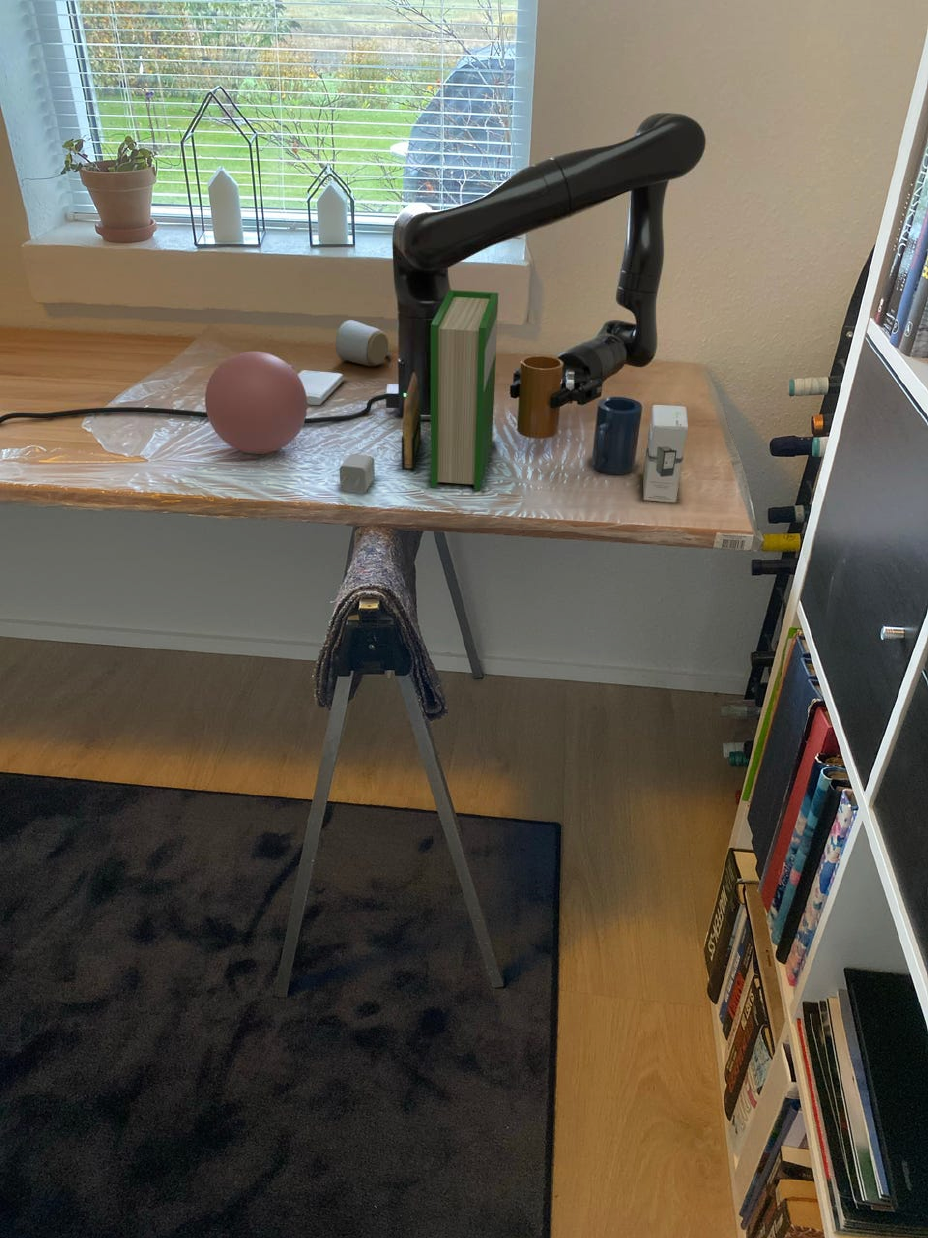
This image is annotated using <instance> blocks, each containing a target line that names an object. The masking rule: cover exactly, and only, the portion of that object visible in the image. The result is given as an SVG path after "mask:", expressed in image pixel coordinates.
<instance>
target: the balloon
mask: <svg viewBox="0 0 928 1238" xmlns="http://www.w3.org/2000/svg"><path fill="white" fill-rule="evenodd" d="M204 407H205V412H207V416H208V422H209V423H210V425H211V427H212V429H213V431H214V432H215V433H216V434H217V436H218V437H219V438H220V439H221V440H222V441H223V442H225V443H226V444H227V445H229V446H230V447H232V448H234V449H236V450H238V451H240V452H243V453H247V454H254V455H263V454H264V455H265V454H269V453H270V454H271V453H274V452H277V451H279V450H282V449H283V448H285V447H286V446H288V445H289V444H290V443H291V442H293V440H294V439H296V437H297V436H298V435H299V433H300V432H301V431H302V428H303V427H304V425H305V424H304V421H305V418H307V413H308V404H307V397H306V392H305V389H304V386H303V383H302V381H301V380H300V378H299V376H298V373H297V371H295V368H294V366H293V365H292V364H288V362H286V361H285V360H283V359H282V358H280V357H278V356H276V355H273V354H271V353H268V352H263V351H244V352H239V353H237V354H234V355H232V356H230V357H228V358H226V359H225V360H223V362H221V363H220V364H219V365H218V366H217V367H216V369H215V370H214V371H213V373H212V374H211V375H210V378H209V380H208V382H207V384H206V389H205V396H204Z"/></svg>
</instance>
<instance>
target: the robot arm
mask: <svg viewBox="0 0 928 1238" xmlns="http://www.w3.org/2000/svg"><path fill="white" fill-rule="evenodd" d="M706 143H707V139H706V134H705V131H704V129H703V127H702V126H701V124H700V123H699V122H698V121H697V120H695V119H694V118H692V117H690V116H688V115H686V114H682V113H669V112H659V113H654V114H651V115H649V116H647V117H646V118H645V119H643V120H642V121H641V123H640V124H639V126H638V127H637V128H636V131H635V132H634V136H633V137H631V138H627V139H625V140H623V141H620V142H616V143H614V144H610V145H604V146H599V147H592V148H586V149H581V150H576V151H571V152H567V153H563V154H560V155H555V156H553V157H549V158H548V159H545V160H543V161H540V162H537V163H534V164H532V165H529V166H527V167H525V168H523V169H521V170H519V171H517V172H516V173H514V174H513V175H511V176H510V177H508V178H507V179H506V180H504V181H503V182H502V183H500V184H499V185H497V186H496V187H495V188H494V189H492V190H491V191H490V192H488V193H487V194H485V195H483V196H481V197H479V198H477V199H474V200H472V201H469V202H465V203H462V204H459V205H456V206H453V207H448V208H445V209H438V208H437V207H435V206H434V205H431V204H429V203H424V202H417V203H412V204H409V205H408V206H406V207H405V208H403V210H401V211H400V213H399V214H398V215H397V216H396V219H395V221H394V224H393V229H392V235H391V236H392V237H391V238H392V240H391V243H392V244H391V245H392V246H391V247H392V268H393V269H392V270H393V271H392V273H393V286H394V292H395V296H396V305H397V308H396V309H397V339H398V341H397V344H398V345H397V347H398V349H397V351H398V353H397V354H398V359H397V380H398V381H397V383H387V384H386V389H385V393H384V394H380V395H375V396H373V397H371V398H370V399H369V400H368V401H367V403H366V407H365V408H364V409H362V410H360V411H359V412H356V413H352V414H347V415H333V416H324V417H323V416H321V417H306V418H305V421H304V424H303V425H305V424H307V425H308V424H319V423H321V424H322V423H330V422H344V421H348V420H352V419H356V418H360V417H363V416H366V415H367V414H369V412H370V411H371V410H372V406H373V404H374V403H376V402H379V401H383V400H385V408H386V409H398V417H404V402H405V397H406V394H407V390H408V387H409V384H410V381H411V378H412V375H413V373H414V372H415V374H416V377H417V382H418V395H419V403H420V414H421V421H431V323H432V322H433V320H434V318H435V316H436V314H437V312H438V310H439V308H440V306H441V304H442V302H443V301H444V299H445V297H446V295H447V293H448V291H449V290H452V287H451V284H450V283H451V281H450V277H449V276H450V275H449V268H452V267H453V266H455V265H457V264H459V263H461V262H463V261H465V260H466V259H468V258H470V257H472V256H474V255H476V254H478V253H479V252H483V251H484V250H486V249H488V248H490V247H492V246H495V245H497V244H500V243H503V242H507V241H509V240H513V239H516V238H518V237H521V236H524V235H527V234H529V233H532V232H533V231H537V230H540V229H543V228H546V227H549V226H552V225H554V224H557V223H560V222H561V221H565V220H567V219H569V218H572V217H574V216H577V215H578V214H581V213H583V212H586V211H588V210H591V209H593V208H595V207H598V206H601V205H602V204H604V203H606V202H608V201H611V200H613V199H614V198H617V197H619V196H621V195H624V194H626V193H628V192H629V201H628V202H629V203H628V216H627V226H626V233H625V240H624V241H625V242H624V249H623V254H622V259H621V260H622V261H621V265H620V271H619V276H618V280H617V287H616V290H615V291H616V292H615V302H616V304H617V305H618V306H620V307H622V308H623V309H626V310H628V311H629V312H631V314H633V316H634V320H635V323H634V322H628V321H624V320H620V319H611V320H607V321H605V322H604V323H603V324H602V325H601V327H600V329H599V330H598V332H597V333H596V334H595V336H594V337H593V338H591V339H589V340H587V341H584V342H581V343H578V344H576V345H575V346H573V347H570V348H569V349H567V350H564V351H563V352H561V353H560V354H558V355H557V356H556V357H555V358H558V359H560V360H561V361H563V363H564V366H563V378H562V389H560V390H559V391H557V392H555V393H554V394H552V396H551V403H550V408H553V409H556V408H558V407H560V408H561V407H563V406H565V405H566V404H568V405H571V404H573V403H574V402H576V405H578V406H584V405H586V404H588V403H590V402H592V401H594V400H596V399H599V398H601V397H602V393H603V387H604V386H603V385H604V383H605V382H606V381H607V380H608V379H609V378H611V377H612V376H614V375H616V374H617V373H618V372H620V371H621V370H622V369H623V368H624V367H625V365H626V366H630V367H633V368H644V367H646V366H648V365H649V364H650V363H651V362H652V361H653V359H654V357H655V356H656V354H657V349H658V326H657V298H658V294H659V289H660V285H661V279H662V275H663V268H664V262H665V236H664V204H665V199H666V193H667V188H668V186H669V183H670V181H672V180H676V179H680V178H682V177H684V176H686V175H687V174H689V173H690V172H691V171H693V170H694V169H695V168H696V166H697V165H698V164H699V162H700V161H701V160H702V158H703V156H704V154H705V153H704V152H705V150H706ZM520 369H521V367H519V368H517V369H516V370H515V371H513V377H512V378H513V380H512V383H510V385H509V395H510V398H512V399H517V398H518V399H519V386H520ZM106 413H107V414H109V413H110V414H111V413H141V414H142V413H147V414H164V415H165V414H166V415H177V416H187V417H188V416H189V417H199V418H208V416H207V412H206V411H197V410H187V409H186V410H185V409H177V408H175V409H174V408H163V407H140V406H119V407H118V406H114V407H93V408H92V407H91V408H79V409H70V410H69V409H68V410H61V411H53V412H23V411H22V412H10V413H6V414H3V415H0V425H1V424H2V423H4V422H6V421H8V420H12V419H23V418H24V419H52V418H60V417H71V416H79V415H89V414H106Z"/></svg>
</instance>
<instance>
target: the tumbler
mask: <svg viewBox="0 0 928 1238" xmlns="http://www.w3.org/2000/svg"><path fill="white" fill-rule="evenodd" d="M563 366H564V363H563V361H561V360H560V359H558V358H556V357H555V356H550V355H537V354H536V355H529V356H526V357H523V358H522V359H521V360H520V368H521V369H520V386H519V397H518V402H517V420H516V431H517V433H518V434H519V435H521V436H523V437H525V438H528V439H534V440H535V439H536V440H542V439H543V440H545V439H549V438H550V439H551V438H553V437H555V436H556V435H557V434H558V432H559V424H560V411H561V407H558V408H556V409H553V408H550V403H551V396H552V394H554V393H555V392H557V391H559V390H560V389H562V378H563Z"/></svg>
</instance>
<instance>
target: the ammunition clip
mask: <svg viewBox="0 0 928 1238" xmlns="http://www.w3.org/2000/svg"><path fill="white" fill-rule="evenodd" d="M402 417H403V418H402V436H401V470H407V471H415V468H416V465H417V461H418V456H419V452H420V448H421V444H422V425H421V424H422V420H421V414H420V403H419V395H418V382H417V377H416V374H415V372H414V373H413V375H412V378H411V381H410V384H409V387H408V390H407V394H406V397H405V402H404V416H402Z"/></svg>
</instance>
